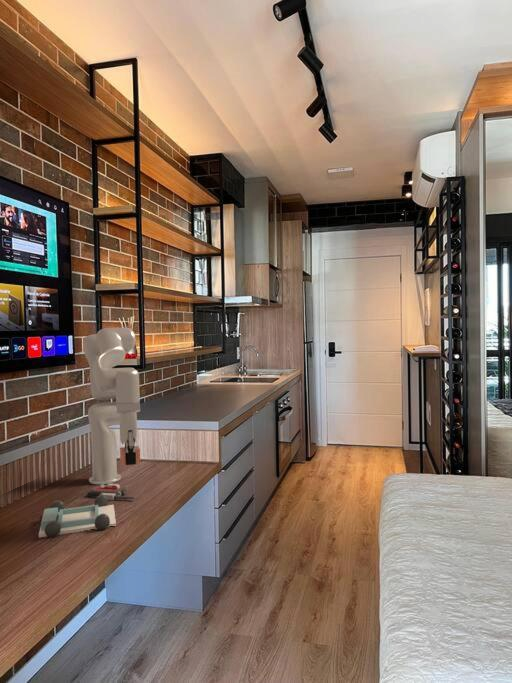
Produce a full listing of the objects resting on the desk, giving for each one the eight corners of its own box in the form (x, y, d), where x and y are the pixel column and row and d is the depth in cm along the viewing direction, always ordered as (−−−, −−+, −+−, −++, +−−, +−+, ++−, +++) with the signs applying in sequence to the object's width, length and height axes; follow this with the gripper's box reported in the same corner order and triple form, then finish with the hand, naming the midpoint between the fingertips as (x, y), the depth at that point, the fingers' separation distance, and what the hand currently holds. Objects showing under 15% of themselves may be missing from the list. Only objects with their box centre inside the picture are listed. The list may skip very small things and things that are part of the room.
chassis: (44, 515, 165) (44, 502, 165) (113, 506, 172) (113, 493, 172) (38, 539, 146) (37, 524, 146) (116, 528, 153) (115, 513, 152)
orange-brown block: (120, 462, 165) (119, 447, 165) (138, 460, 167) (138, 445, 167) (121, 466, 160) (120, 451, 160) (140, 464, 162) (139, 449, 162)
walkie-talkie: (83, 499, 181) (133, 503, 176) (82, 487, 181) (132, 490, 176) (96, 492, 190) (144, 494, 185) (96, 480, 190) (144, 483, 185)
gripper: (115, 404, 170) (116, 457, 171) (117, 412, 154) (119, 470, 155) (137, 403, 173) (139, 455, 173) (142, 410, 157) (144, 467, 157)
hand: (130, 461), depth 164 cm, fingers closed on orange-brown block, 5 cm apart
